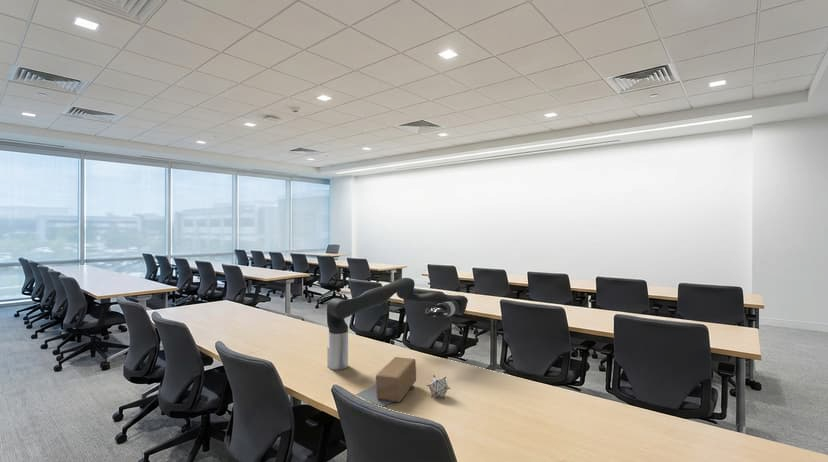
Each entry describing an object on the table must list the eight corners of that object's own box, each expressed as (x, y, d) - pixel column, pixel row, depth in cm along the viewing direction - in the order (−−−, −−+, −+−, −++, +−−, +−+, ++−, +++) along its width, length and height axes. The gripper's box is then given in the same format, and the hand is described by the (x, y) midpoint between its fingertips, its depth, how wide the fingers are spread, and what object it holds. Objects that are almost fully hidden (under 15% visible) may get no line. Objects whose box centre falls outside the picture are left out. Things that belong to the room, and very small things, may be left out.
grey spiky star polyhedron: (442, 404, 155) (457, 383, 156) (437, 405, 148) (452, 383, 149) (425, 389, 159) (439, 369, 160) (419, 389, 152) (434, 368, 153)
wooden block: (417, 380, 165) (399, 403, 147) (395, 378, 169) (375, 400, 150) (416, 358, 165) (398, 377, 146) (394, 355, 168) (374, 375, 150)
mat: (352, 396, 154) (352, 393, 154) (384, 381, 170) (384, 377, 170) (383, 407, 145) (383, 403, 145) (414, 389, 161) (414, 386, 161)
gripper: (434, 300, 201) (415, 305, 187) (456, 303, 194) (438, 308, 180) (433, 315, 201) (415, 321, 187) (456, 318, 194) (438, 325, 180)
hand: (426, 315), depth 183 cm, fingers closed
